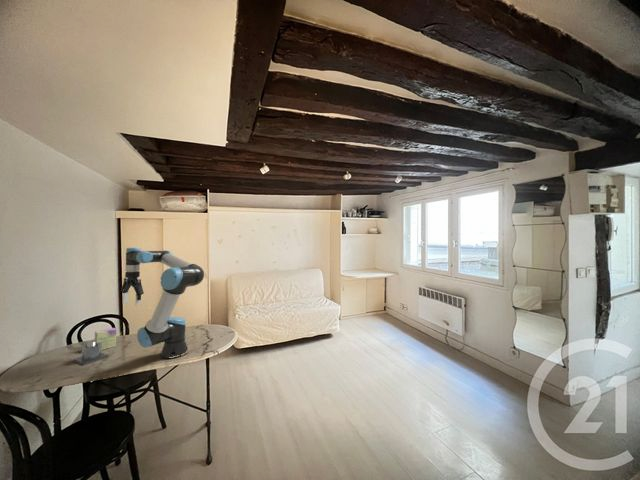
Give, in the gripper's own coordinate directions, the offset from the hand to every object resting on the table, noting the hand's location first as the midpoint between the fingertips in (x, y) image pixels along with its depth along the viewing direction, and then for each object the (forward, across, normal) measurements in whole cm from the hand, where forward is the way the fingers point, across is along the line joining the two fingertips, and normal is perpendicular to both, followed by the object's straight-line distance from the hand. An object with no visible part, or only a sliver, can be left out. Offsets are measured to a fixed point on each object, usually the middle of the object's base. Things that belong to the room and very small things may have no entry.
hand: (131, 304), depth 162 cm
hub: (+30, +12, +15) cm, 36 cm away
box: (+32, +24, +2) cm, 40 cm away
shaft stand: (+32, +12, +15) cm, 37 cm away
